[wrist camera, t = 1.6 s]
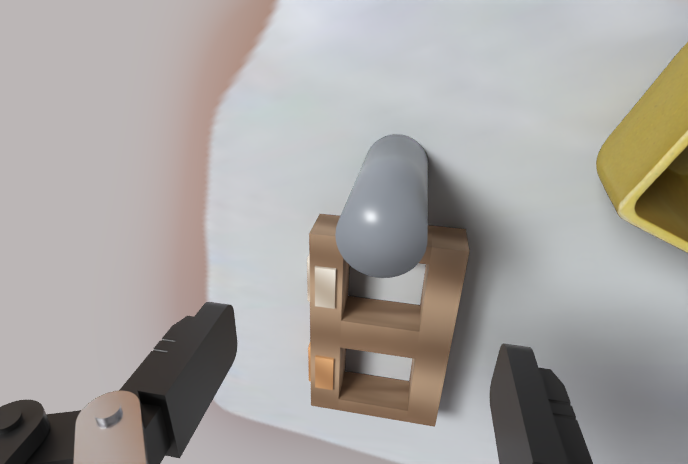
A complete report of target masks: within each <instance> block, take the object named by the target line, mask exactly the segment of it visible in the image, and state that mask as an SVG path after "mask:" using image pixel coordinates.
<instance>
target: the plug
mask: <svg viewBox="0 0 688 464" xmlns="http://www.w3.org/2000/svg"><path fill="white" fill-rule="evenodd" d="M427 234H428V160H427V156H426V153H425V151H424V149H423V148H422V146H421V145H420V144H419V143H418V142H417V141H415V140H414V139H412V138H410V137H408V136H404V135H389V136H385V137H383V138H381V139H379V140H378V141H376V142H375V143H374V144H373V145H372V146H371V148H370V149H369V151H368V153H367V156H366V158H365V160H364V163H363V165H362V167H361V170H360V172H359V174H358V177H357V179H356V181H355V184H354V186H353V188H352V190H351V193H350V195H349V197H348V200H347V202H346V204H345V207H344V209H343V211H342V214H341V216H340V218H339V221H338V223H337V227H336V234H335V235H336V244H337V247H338V250H339V252H340V254H341V255H342V257H343V258H344V260H345V261H346V262H347V263H348V264H349V265H350V266H351V267H353V268H354V269H356V270H357V271H359V272H361V273H363V274H366V275H369V276H372V277H378V278H390V277H395V276H399V275H402V274H404V273H406V272H408V271H410V270H411V269H413V268H414V267H415V266H416V265H417V264H418V263H419V262H420V260H421V259H422V257H423V256H424V253H425V251H426V247H427Z"/></svg>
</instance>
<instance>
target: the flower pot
mask: <svg viewBox="0 0 688 464" xmlns="http://www.w3.org/2000/svg"><path fill="white" fill-rule="evenodd" d="M596 165H597V173H598V175H599V178H600V180H601V182H602V184H603V186H604V188H605V190H606V192H607V194H608V196H609V198H610V200H611V202H612V204H613V205H614V207H615V209H616V211H617V213H618V215H619V216H620V217H621V218H622V219H624V220H625V221H627V222H629V223H630V224H632V225H634V226H636V227H638V228H640V229H642V230H644V231H646V232H648V233H650V234H652V235H654V236H656V237H658V238H660V239H661V240H663V241H665V242H667V243H669V244H671V245H673V246H675V247H677V248H679V249H681V250H683V251H685V252H687V253H688V42H687V43H686V45H685V46H684V47H683V48H682V49H681V50H680V51H679V52H678V53H677V55H676V56H675V57H674V58H673V59H672V61H671V62H670V63H669V64H668V66H667V67H666V68H665V69H664V71H663V72H662V73H661V74H660V75H659V77H658V78H657V79H656V80H655V81H654V83H653V84H652V85H651V86H650V88H649V89H648V90H647V91H646V92H645V94H644V95H643V96H642V97H641V99H640V100H639V101H638V102H637V103H636V105H635V106H634V107H633V108H632V109H631V111H630V112H629V113H628V114H627V115H626V117H625V118H624V119H623V120H622V121H621V123H620V124H619V125H618V126H617V127H616V129H615V130H614V131H613V132H612V133H611V135H610V136H609V137H608V138H607V140H606V141H605V143H604V144H603V145H602V147H601V149H600V151H599V154H598V157H597V162H596Z"/></svg>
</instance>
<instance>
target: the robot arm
mask: <svg viewBox="0 0 688 464" xmlns="http://www.w3.org/2000/svg"><path fill="white" fill-rule="evenodd" d="M236 352H237V335H236V326H235V318H234V310H233V307H232V305H228V304H221V303H214V302H206V303H205V304H204V305H203V306H202V308H201V309H200V310H199V312H198V313H197V314H196V315H195V317H192V316H187V317H185V318H184V319H182V320H181V321H179V322H177V323H176V324H174V325H173V326H172V327H171V328H170V330H169V331H168V332H167V333H166V334H165V336H164V337H163V338H162V341H159V343H158V344H157V345H156V346H155V348H154V350H153V351H151V352H150V354H149V355H148V356H147V357H146V359H145V360H144V361H143V362H142V363H141V365H140V366H139V367H138V368H137V369H136V371H135V372H134V373H133V374H132V376H131V377H130V378H129V379H128V380H127V382H126V383H125V384H124V385H123V387H122V388H121V389H120V390H119V391H113V392H109V393H106V394H103V395H101V396H99V397H97V398H95V399H94V400H92V401H91V402H90V403H88V404H87V405H86V406H85V407H84V408H83V409H82V410H80V411H73V412H64V413H56V414H46V413H45V411H44V408H43V407H42V405H41V404H40V403H39V402H37V401H33V400H19V401H15V402H12V403H9V404H6V405H4V406H2V407H0V464H160V463H161V461H162V460H163V458H164V456H165V455H166V456H171V457H176V458H180V457H181V455H182V453H183V452H184V450H185V448H186V446H187V444H188V443H189V441H190V439H191V437H192V435H193V434H194V432H195V430H196V428H197V427H198V425H199V423H200V421H201V419H202V417H203V416H204V414H205V412H206V410H207V409H208V407H209V405H210V403H211V402H212V400H213V398H214V396H215V394H216V393H217V391H218V389H219V387H220V385H221V384H222V382H223V380H224V378H225V377H226V375H227V373H228V371H229V369H230V368H231V366H232V364H233V362H234V359H235V356H236ZM490 407H491V413H492V420H493V426H494V432H495V438H496V445H497V451H498V457H499V463H500V464H593V462H592V459H591V457H590V454H589V451H588V449H587V446H586V443H585V440H584V438H583V435H582V432H581V430H580V427H579V424H578V421H577V420H576V419H575V418H576V416H575V413H574V411H573V408H572V406H570V400H569V397H568V394H567V392H566V389H565V386H564V385H563V383H562V382H561V381H560V380H559V379H558V378H557V376H556V375H555V374H554V373H553V372H552V370H551V369H544V368H538V365H537V362H536V359H535V356H534V353H533V350H532V348H530V347H524V346H517V345H509V344H502V345H501V347H500V351H499V354H498V358H497V362H496V366H495V369H494V373H493V377H492V381H491V386H490Z"/></svg>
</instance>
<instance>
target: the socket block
mask: <svg viewBox="0 0 688 464" xmlns="http://www.w3.org/2000/svg"><path fill="white" fill-rule="evenodd" d="M339 218H340V216H336V215H326V214H320V215H319V216H318V218H317V220H316V222H315V224H314V226H313V228H312V229H311V231H310V233H309V251H310V253H309V256H308V258H307V285H308V301H310V344H309V347H308V358H309V381H311V405H312V406H318V407H323V408H329V409H335V410H341V411H347V412H353V413H359V414H364V415H370V416H376V417H382V418H388V419H394V420H399V421H405V422H411V423H417V424H423V425H429V426H434V427H435V424H436V419H437V413H438V408H439V403H440V398H441V393H442V388H443V383H444V378H445V373H446V368H447V363H448V358H449V353H450V348H451V343H452V337H453V332H454V327H455V322H456V317H457V312H458V307H459V302H460V297H461V292H462V287H463V282H464V277H465V272H466V267H467V261H468V256H469V246H468V240H467V234H466V229H460V228H450V227H441V226H431V225H428V234H427V247H426V251H425V253H424V256H423V257H422V259H421V260H420V262H419V263H421V264H426V268H425V275H424V282H423V289H422V296H421V303H420V305H414V304H406V303H399V302H391V301H383V300H376V299H368V298H361V297H353V296H348V287H349V264H348V263H347V262H346V261H345V260H344V258H343V257H342V255H341V254H340V252H339V250H338V247H337V244H336V235H335V234H336V227H337V223H338V221H339ZM346 348H347V349H354V350H361V351H367V352H374V353H381V354H387V355H394V356H401V357H408V358H413V359H412V366H411V373H410V380H409V381H404V380H397V379H391V378H385V377H378V376H372V375H366V374H359V373H353V372H347V371H345V359H346Z"/></svg>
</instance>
